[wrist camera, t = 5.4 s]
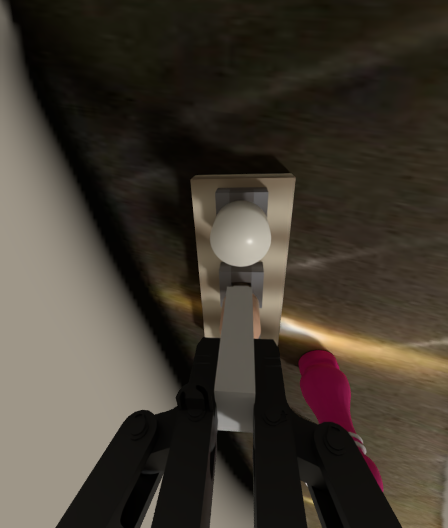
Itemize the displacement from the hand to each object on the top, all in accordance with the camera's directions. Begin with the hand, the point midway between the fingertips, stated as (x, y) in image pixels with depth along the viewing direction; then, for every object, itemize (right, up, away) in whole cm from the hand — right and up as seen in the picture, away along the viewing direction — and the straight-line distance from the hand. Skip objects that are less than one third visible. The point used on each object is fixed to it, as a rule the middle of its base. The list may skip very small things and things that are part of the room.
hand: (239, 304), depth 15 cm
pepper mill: (+15, -14, +27) cm, 34 cm away
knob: (+1, +7, +10) cm, 12 cm away
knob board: (+2, +2, +19) cm, 19 cm away
